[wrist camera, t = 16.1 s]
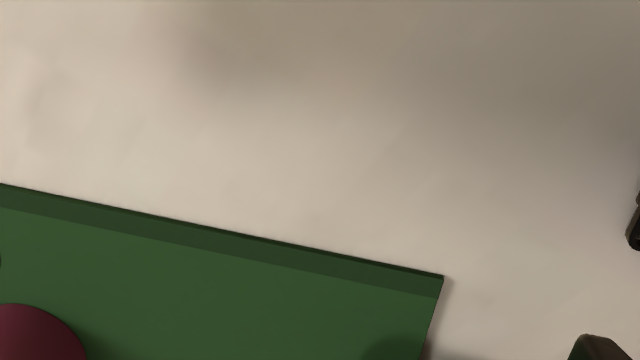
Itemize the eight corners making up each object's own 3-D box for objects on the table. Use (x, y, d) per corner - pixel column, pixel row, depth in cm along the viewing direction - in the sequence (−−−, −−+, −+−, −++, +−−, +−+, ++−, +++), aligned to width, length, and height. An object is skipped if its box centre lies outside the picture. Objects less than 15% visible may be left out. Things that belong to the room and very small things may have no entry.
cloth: (443, 275, 24) (443, 280, 24) (376, 488, 31) (376, 494, 31) (-74, 167, 26) (-80, 171, 25) (-29, 395, 32) (-33, 400, 32)
